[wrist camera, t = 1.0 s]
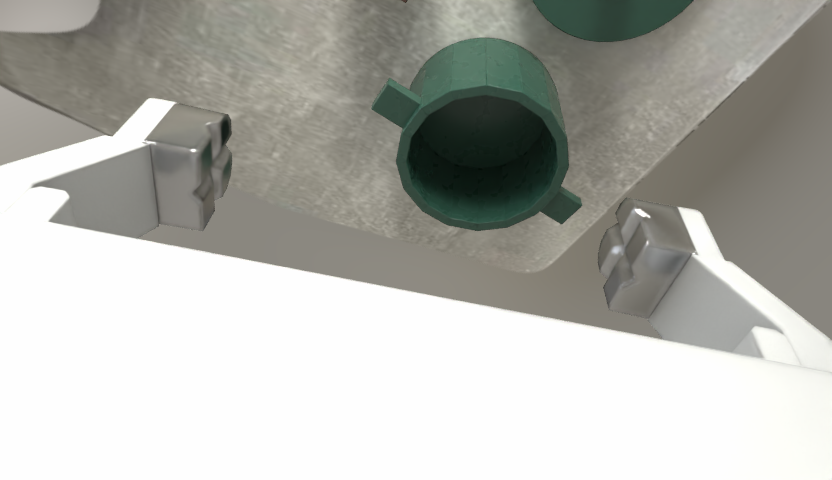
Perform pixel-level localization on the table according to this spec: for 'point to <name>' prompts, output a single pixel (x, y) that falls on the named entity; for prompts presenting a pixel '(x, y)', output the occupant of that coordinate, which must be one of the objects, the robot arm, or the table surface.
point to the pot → (481, 137)
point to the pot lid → (609, 17)
